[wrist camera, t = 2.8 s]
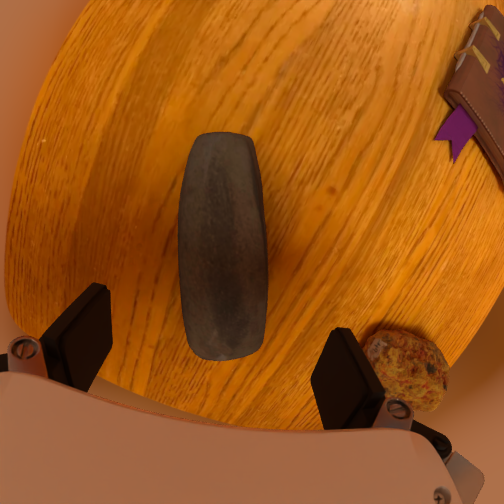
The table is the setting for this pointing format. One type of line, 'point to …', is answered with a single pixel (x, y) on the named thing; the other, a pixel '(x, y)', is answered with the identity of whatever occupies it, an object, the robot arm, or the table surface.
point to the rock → (408, 367)
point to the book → (479, 90)
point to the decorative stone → (223, 248)
